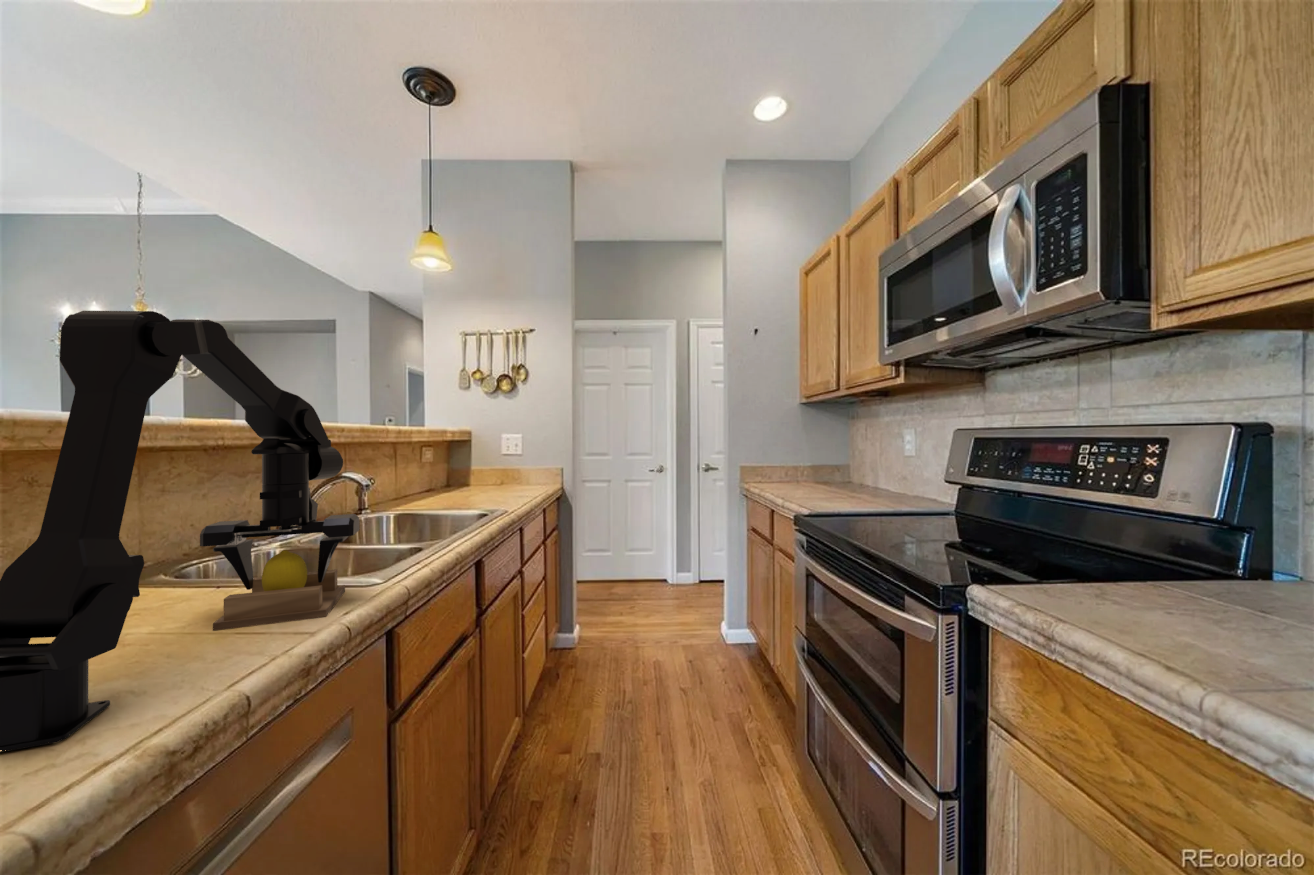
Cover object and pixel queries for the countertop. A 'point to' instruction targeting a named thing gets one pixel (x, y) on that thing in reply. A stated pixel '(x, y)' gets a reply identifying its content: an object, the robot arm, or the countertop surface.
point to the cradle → (281, 603)
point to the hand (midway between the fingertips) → (286, 585)
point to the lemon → (284, 572)
